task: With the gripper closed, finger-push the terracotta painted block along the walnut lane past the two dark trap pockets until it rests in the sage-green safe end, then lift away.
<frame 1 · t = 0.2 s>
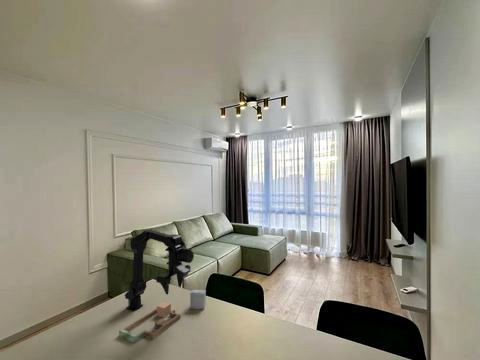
hand: (173, 290, 117), 14 cm above the table, tool pointing down, fingers open, 9 cm apart
block: (163, 314, 120), on the table
trap lane: (150, 323, 112), on the table
medicine box: (198, 307, 128), on the table
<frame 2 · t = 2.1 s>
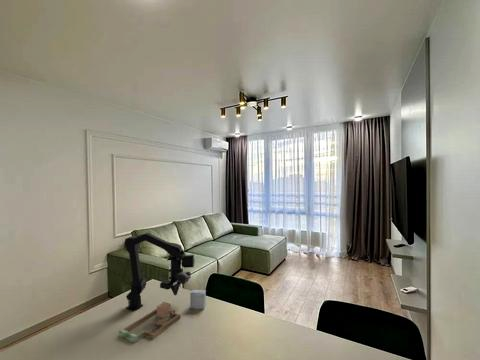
hand: (175, 295, 129), 6 cm above the table, tool pointing down, fingers closed
nothing on the table moved.
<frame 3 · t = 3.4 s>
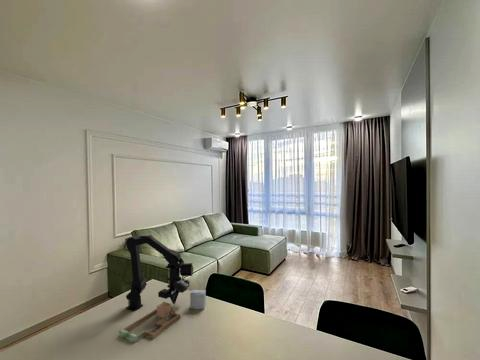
hand: (174, 303, 127), 2 cm above the table, tool pointing down, fingers closed
nothing on the table moved.
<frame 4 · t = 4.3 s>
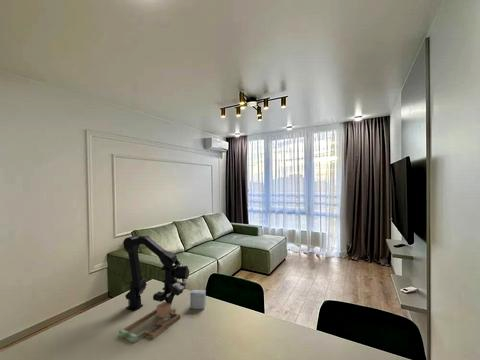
hand: (169, 306, 124), 2 cm above the table, tool pointing down, fingers closed
block: (163, 314, 120), on the table, touching gripper
everything else where it was.
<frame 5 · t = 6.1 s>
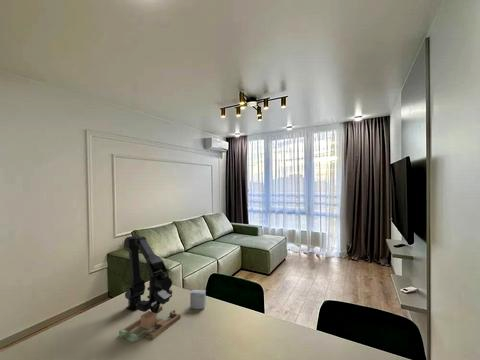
hand: (155, 316, 115), 2 cm above the table, tool pointing down, fingers closed
block: (148, 324, 111), on the table, touching gripper
everything else where it was.
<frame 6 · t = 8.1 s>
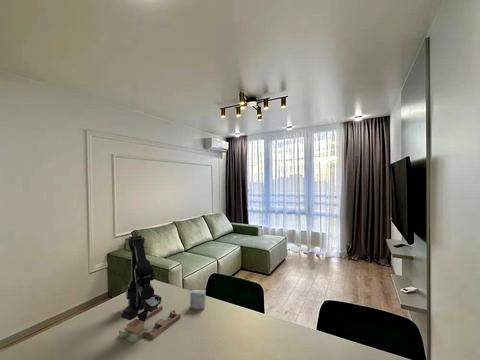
hand: (142, 324, 108), 2 cm above the table, tool pointing down, fingers closed
block: (135, 333, 104), on the table, touching gripper
everything else where it was.
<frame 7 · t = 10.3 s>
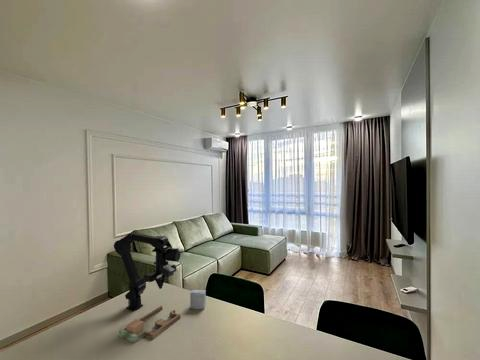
hand: (160, 288, 124), 12 cm above the table, tool pointing down, fingers closed
block: (135, 334, 104), on the table
everything else where it was.
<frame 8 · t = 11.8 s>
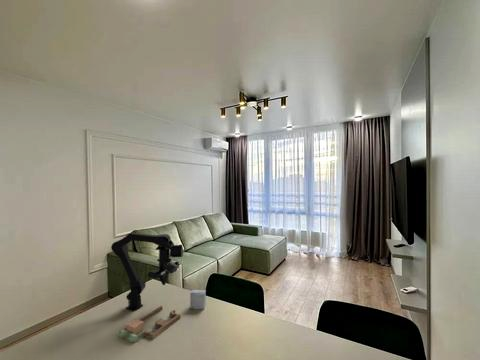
hand: (163, 284, 129), 12 cm above the table, tool pointing down, fingers closed
nothing on the table moved.
at the end: block inside the target area (0.8 cm from its centre), on the table; block tilted 0°; block moved 18.0 cm from its start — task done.
